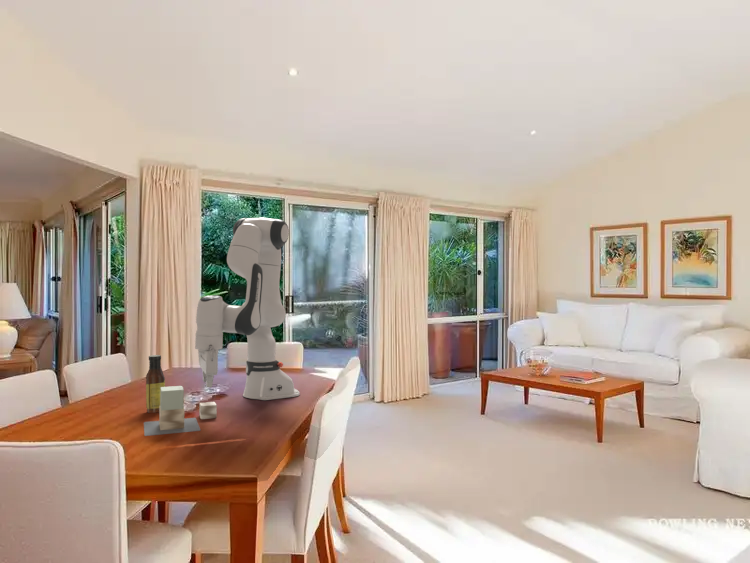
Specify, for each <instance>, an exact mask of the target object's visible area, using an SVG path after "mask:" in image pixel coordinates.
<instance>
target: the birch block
mask: <svg viewBox="0 0 750 563" xmlns="http://www.w3.org/2000/svg"><path fill="white" fill-rule="evenodd" d="M158 413H159V414H158V415H159V417H158V418H159V419H158V421H159V426H160V430H169V429H179V428H184V419H185V408H184V409H175V410H163V411H161V406H159V412H158Z"/></svg>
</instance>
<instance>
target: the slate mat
mask: <svg viewBox="0 0 750 563" xmlns="http://www.w3.org/2000/svg"><path fill="white" fill-rule="evenodd" d="M143 431H144V433H143V434H144V437H148V436H149V437H150V436H159V435H168V434H169V435H170V434H179V433H188V432H189V433H190V432H199V431H201V428H200V424H199V423H198V420H197V418H196V417H189V418H188V417H187V418H185V417H184V428H179V429H169V430H160V426H159V420H151V421H144V422H143Z"/></svg>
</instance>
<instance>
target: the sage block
mask: <svg viewBox="0 0 750 563" xmlns="http://www.w3.org/2000/svg"><path fill="white" fill-rule="evenodd" d="M184 396H185V389H184V387H183V385H176V386H175V385H173V386H165V387H161V396H160V406H161V411H163V410H175V409H184V410H185V407H184V406H185V405H184V404H185V403H184V401H185V399H184Z"/></svg>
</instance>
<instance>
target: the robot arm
mask: <svg viewBox="0 0 750 563" xmlns="http://www.w3.org/2000/svg"><path fill="white" fill-rule="evenodd" d="M289 235H290V230H289V226H288V224H287V222H286V221H284V220H282V219H278V218H270V217H269V218H268V217H250V218H248V217H243V218H239V219H238V220H237V221H235V223H234V225H233V228H232V236H233V237H232V239H231V241H230V245H229V247H228V250H227V255H226V263H227V266H228V269H230V270H231V271H232V272H233V273H234V274H236V275H237V276H239V277H242V278H243V279H245V281H246V291H245V292H246V293H245V301H244V302H243V303H242V305H231V304H228V303H227V302H225V301H224V300H223V297H222V295H221V296H220V295H217V294H215V295H205V296H204V295H203V296H202V297H200V298H199V300H198V303H197V309H196V316H195V318H196V319H195V320H196V321H195V323H196V333H195V340H194V342H195V344H194V345H195V347H194V348H195V350H197V351H198V352H197V353H198V363H199V364H198V365H199V368H201V372H202V381H203V383H205V384H206V388H212V387H213V384H214V382H213V381H214V378H215V376H217V375H218V371H219V370H218V369H219V365H218V364H219V360H218V359H219V355H218V354H219V350H222V349H223V341H224V338H223V337H224V333H229V334H239V335H245V336H246V338H247V339H246V340H247V360H246V364H245V373H246V374H245V375H246V379H245V384H244V385H245V386H244V390H243V394H242V396H243V397H244V398H247V399H251V400H261V401H270V400H280V399H285V398H293V397H294V398H295V397H299V396H300V391H299V390H298V389H297V388H295V386H294V382H293V378H292V377H290V376H289V375H288V374H287V373H286V372H284V371H283V370H281V368H283V367H284V363H283V362H282V361H278V360H276V348H277V347H276V344H277V343H276V339H275V337H274V336H273V332H272V329H271V328H275V327H279V326H280V325H282V324H283V323H284V322H285V318H286V316H287V315H286V309H285V307H284V305H283V304H282V299H281V298H282V297H281V291H280V279H281V278H280V277H281V268H282V267H281V266H282V247H283V246H284V245H285V244H286V243H287V242H288V240H289Z"/></svg>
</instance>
